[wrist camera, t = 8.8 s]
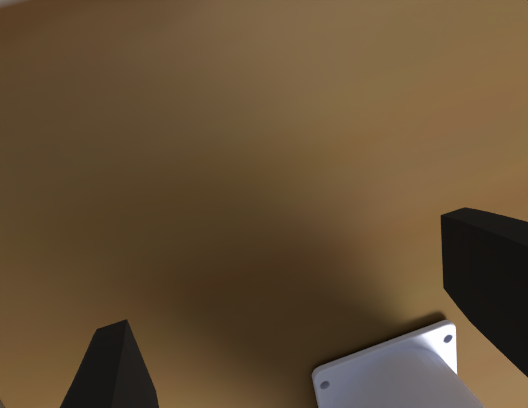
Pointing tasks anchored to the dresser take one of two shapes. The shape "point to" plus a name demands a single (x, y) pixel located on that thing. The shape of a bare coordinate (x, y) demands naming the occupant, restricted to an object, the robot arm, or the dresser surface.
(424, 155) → the dresser surface
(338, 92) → the dresser surface
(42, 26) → the dresser surface
